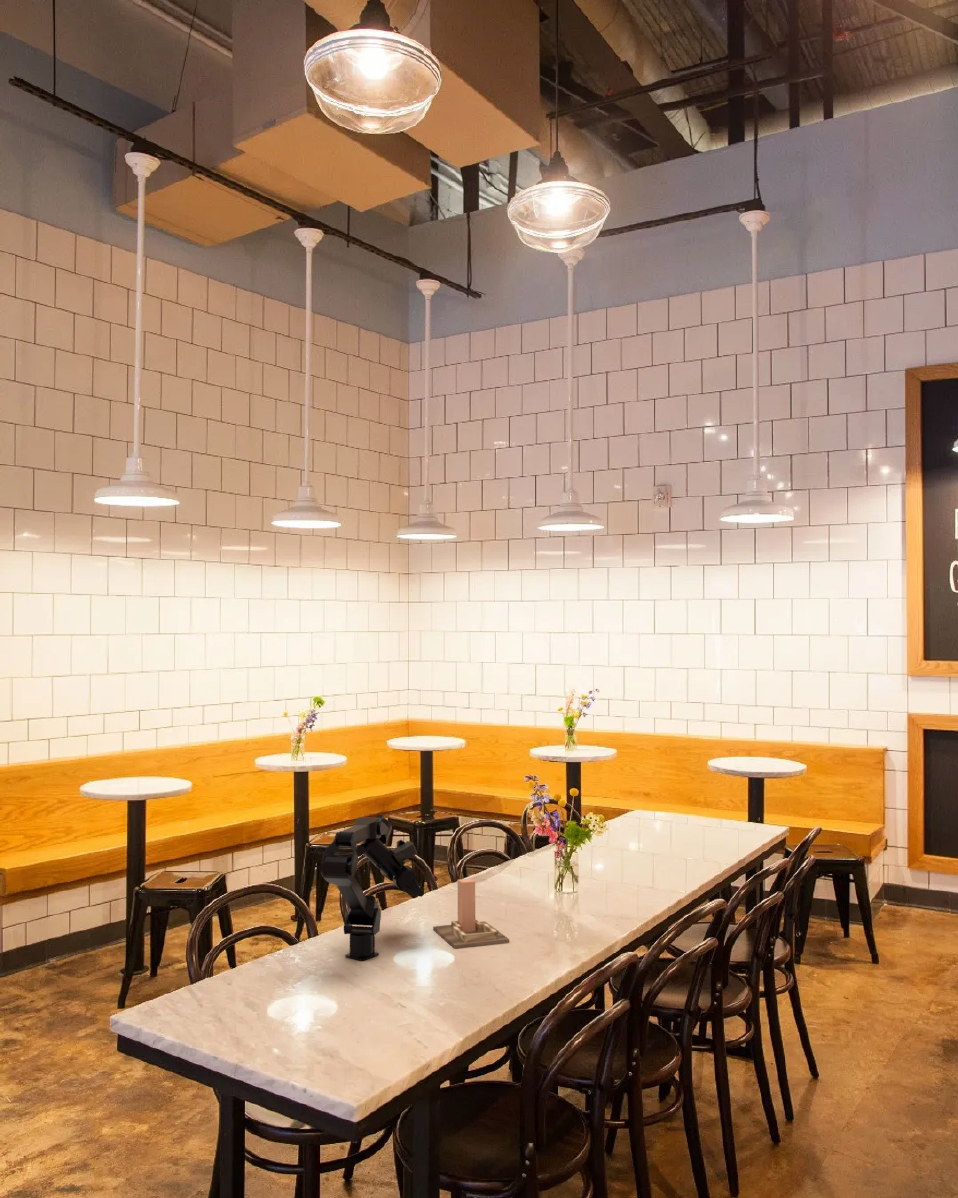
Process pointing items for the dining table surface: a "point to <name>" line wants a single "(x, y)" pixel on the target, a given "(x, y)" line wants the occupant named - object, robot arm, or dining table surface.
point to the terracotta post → (466, 904)
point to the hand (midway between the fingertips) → (418, 891)
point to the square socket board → (470, 935)
